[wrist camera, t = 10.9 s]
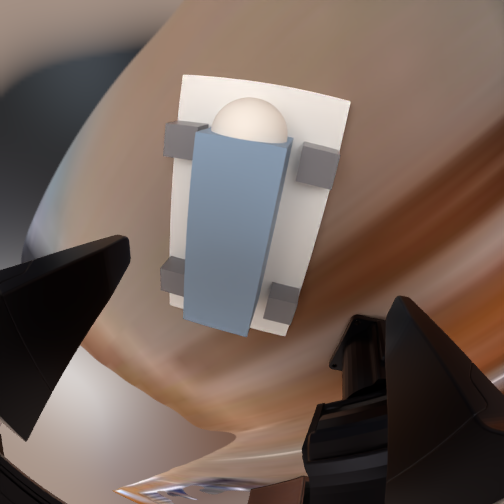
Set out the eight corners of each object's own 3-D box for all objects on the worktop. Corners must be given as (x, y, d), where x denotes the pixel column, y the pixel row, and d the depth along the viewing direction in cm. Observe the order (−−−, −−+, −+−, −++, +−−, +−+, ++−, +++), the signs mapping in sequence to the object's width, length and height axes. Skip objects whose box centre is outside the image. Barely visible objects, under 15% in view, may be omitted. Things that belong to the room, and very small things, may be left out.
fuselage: (258, 300, 22) (246, 337, 19) (202, 285, 23) (183, 318, 19) (300, 105, 15) (295, 106, 12) (225, 92, 16) (200, 91, 12)
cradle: (286, 328, 25) (282, 352, 22) (174, 298, 26) (161, 318, 23) (348, 101, 15) (354, 101, 13) (189, 75, 16) (170, 73, 14)
